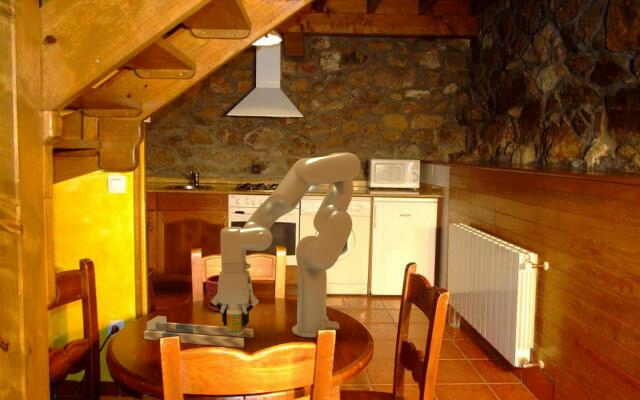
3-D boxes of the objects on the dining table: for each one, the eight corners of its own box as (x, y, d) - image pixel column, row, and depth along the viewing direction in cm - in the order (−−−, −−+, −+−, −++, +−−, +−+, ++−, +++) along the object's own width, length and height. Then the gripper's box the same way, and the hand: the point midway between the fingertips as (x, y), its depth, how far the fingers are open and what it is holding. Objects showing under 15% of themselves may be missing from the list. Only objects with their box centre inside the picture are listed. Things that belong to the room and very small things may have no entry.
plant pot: (206, 304, 200) (206, 274, 199) (240, 303, 202) (240, 273, 202) (205, 314, 187) (205, 281, 186) (241, 313, 190) (241, 280, 189)
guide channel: (253, 336, 163) (253, 321, 163) (242, 347, 154) (242, 331, 153) (160, 329, 169) (160, 314, 169) (144, 339, 160) (144, 323, 159)
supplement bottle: (231, 336, 156) (230, 305, 155) (224, 331, 160) (223, 301, 160) (247, 333, 159) (246, 302, 158) (240, 328, 163) (239, 298, 163)
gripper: (264, 265, 160) (265, 322, 162) (212, 264, 163) (214, 320, 165) (256, 270, 153) (258, 330, 154) (202, 269, 156) (204, 327, 157)
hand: (235, 324), depth 160 cm, fingers closed on supplement bottle, 5 cm apart
